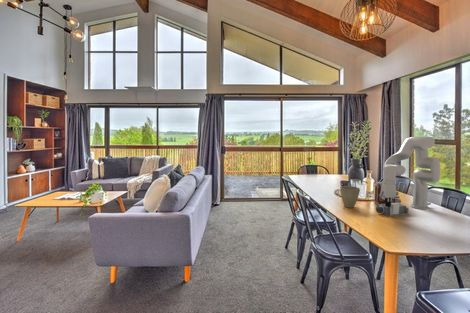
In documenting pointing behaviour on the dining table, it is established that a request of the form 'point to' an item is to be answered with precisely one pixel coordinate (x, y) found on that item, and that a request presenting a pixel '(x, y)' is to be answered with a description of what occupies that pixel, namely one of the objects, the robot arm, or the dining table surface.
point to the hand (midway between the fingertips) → (387, 206)
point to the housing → (386, 210)
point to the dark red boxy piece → (379, 199)
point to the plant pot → (349, 195)
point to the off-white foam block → (394, 208)
